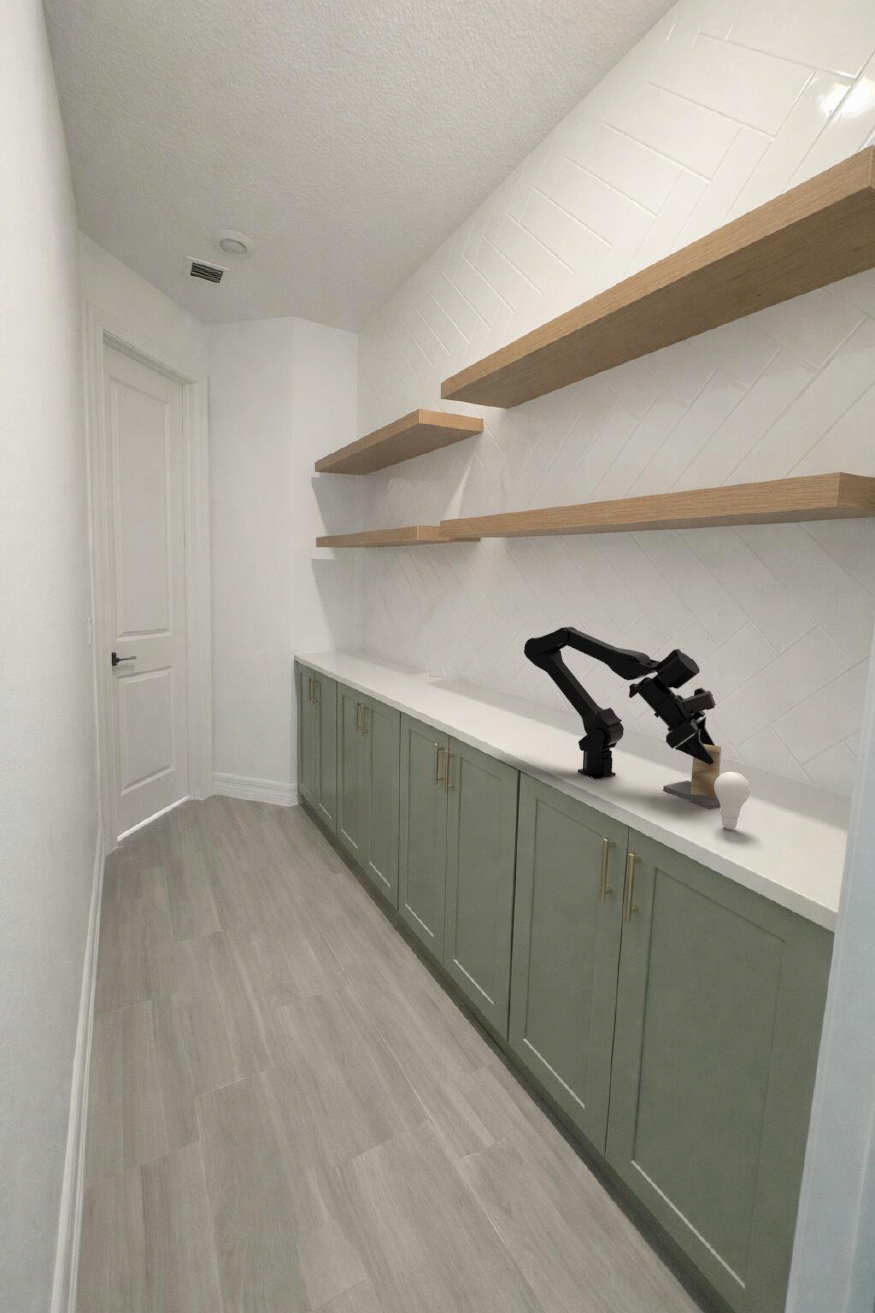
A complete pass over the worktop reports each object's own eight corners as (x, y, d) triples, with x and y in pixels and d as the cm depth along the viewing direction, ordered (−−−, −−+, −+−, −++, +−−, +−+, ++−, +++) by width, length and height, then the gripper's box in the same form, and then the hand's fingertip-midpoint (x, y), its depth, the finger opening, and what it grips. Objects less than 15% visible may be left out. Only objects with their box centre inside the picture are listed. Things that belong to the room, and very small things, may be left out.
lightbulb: (727, 837, 109) (732, 779, 107) (703, 824, 115) (708, 768, 113) (754, 834, 110) (759, 776, 109) (730, 820, 116) (734, 766, 115)
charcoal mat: (663, 790, 133) (663, 786, 132) (687, 784, 136) (687, 780, 136) (710, 809, 122) (711, 804, 122) (735, 802, 126) (735, 797, 126)
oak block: (690, 794, 127) (693, 748, 126) (693, 787, 132) (696, 743, 130) (716, 798, 125) (719, 752, 124) (717, 791, 129) (721, 746, 128)
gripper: (687, 684, 119) (744, 746, 115) (697, 671, 135) (748, 725, 131) (643, 717, 124) (697, 778, 120) (658, 701, 140) (706, 754, 136)
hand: (714, 757), depth 127 cm, fingers open, 9 cm apart
